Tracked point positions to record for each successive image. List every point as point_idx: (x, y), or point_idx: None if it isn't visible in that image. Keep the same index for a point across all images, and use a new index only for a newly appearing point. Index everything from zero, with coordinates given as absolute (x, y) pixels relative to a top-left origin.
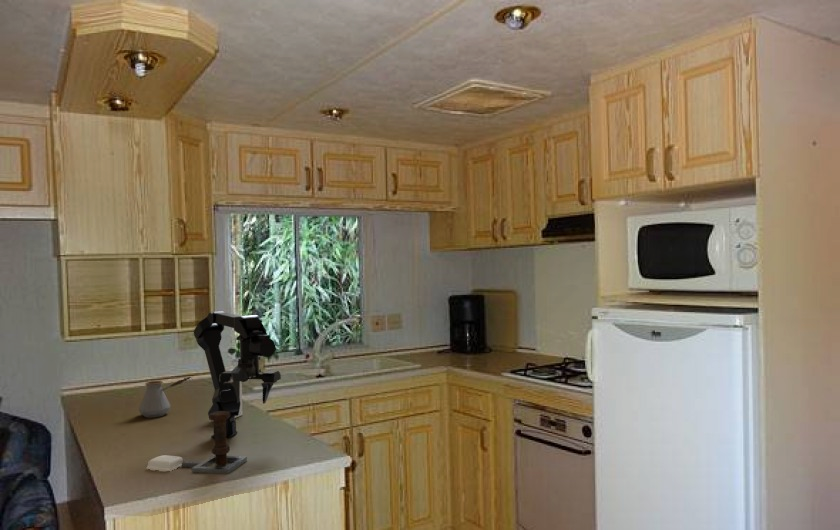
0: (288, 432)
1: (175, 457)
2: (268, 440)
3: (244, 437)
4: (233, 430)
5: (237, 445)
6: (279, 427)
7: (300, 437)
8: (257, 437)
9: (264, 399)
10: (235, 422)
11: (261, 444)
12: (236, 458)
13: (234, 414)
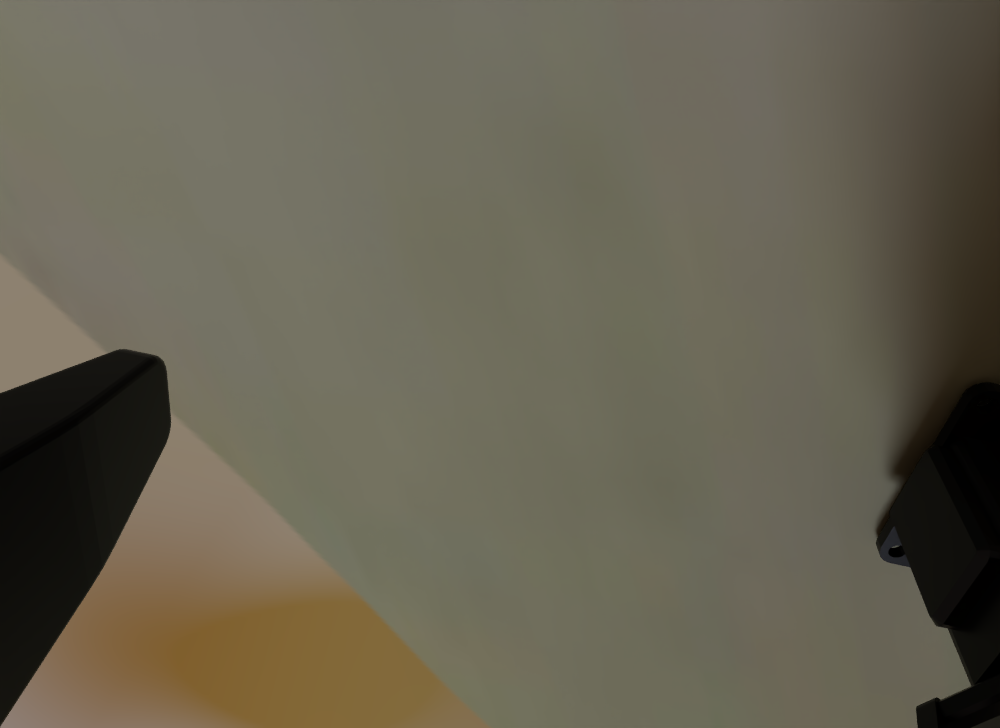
0: (319, 483)
1: None
2: (436, 236)
3: (767, 390)
4: (930, 492)
5: (811, 51)
6: (468, 633)
7: (111, 303)
8: (606, 368)
9: (4, 398)
10: (931, 599)
11: (472, 67)
12: None
13: (982, 704)
